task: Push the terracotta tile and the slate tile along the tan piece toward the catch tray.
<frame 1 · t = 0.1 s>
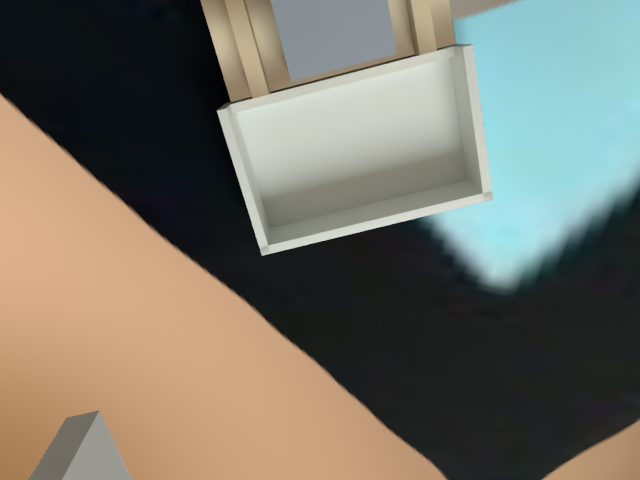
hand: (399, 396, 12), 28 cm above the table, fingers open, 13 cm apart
slate tile: (328, 12, 31), point 4 cm above the table, touching tan piece
catch tray: (354, 144, 38), on the table
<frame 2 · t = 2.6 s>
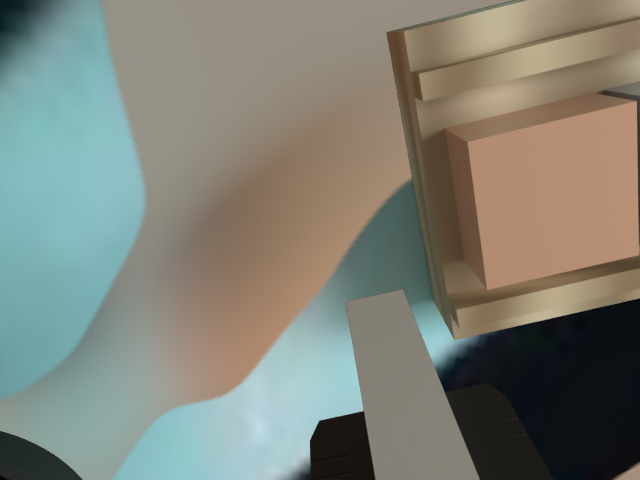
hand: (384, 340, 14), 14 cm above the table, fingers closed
tan piece: (551, 145, 26), on the table
terracotta tile: (524, 180, 22), point 4 cm above the table, touching tan piece
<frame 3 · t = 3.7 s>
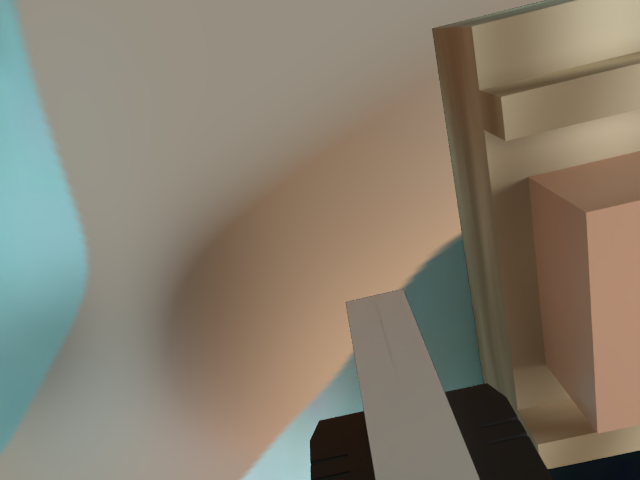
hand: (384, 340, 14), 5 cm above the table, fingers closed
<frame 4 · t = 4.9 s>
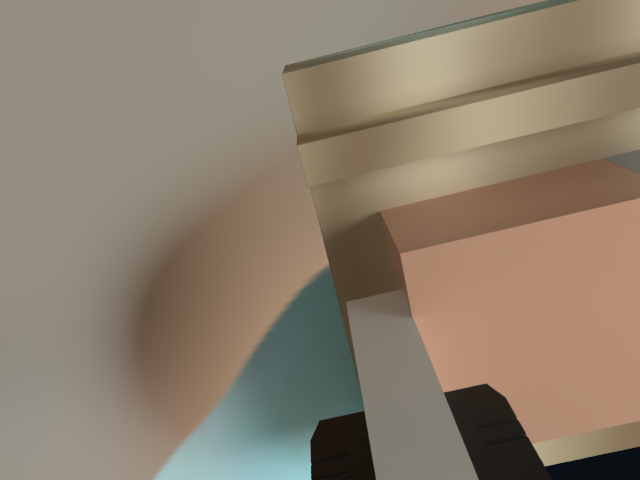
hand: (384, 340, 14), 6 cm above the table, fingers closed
tan piece: (526, 219, 19), on the table
terracotta tile: (501, 283, 15), point 4 cm above the table, touching tan piece, gripper, slate tile
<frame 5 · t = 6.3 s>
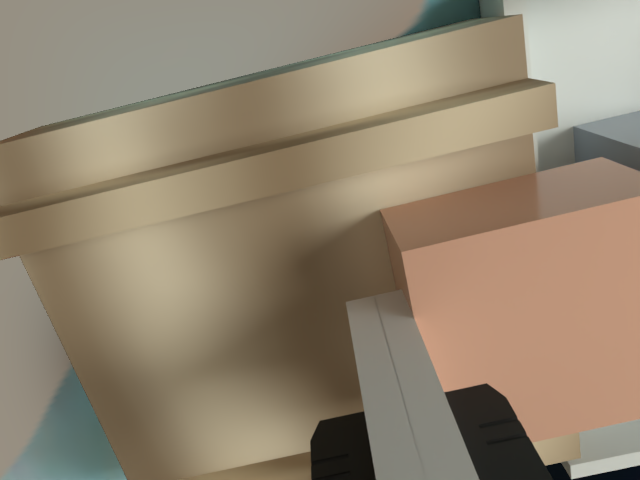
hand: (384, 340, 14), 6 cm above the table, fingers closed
tan piece: (304, 270, 19), on the table
slate tile: (628, 243, 15), point 3 cm above the table, tilted 90°, touching catch tray
terracotta tile: (501, 282, 15), point 4 cm above the table, touching gripper
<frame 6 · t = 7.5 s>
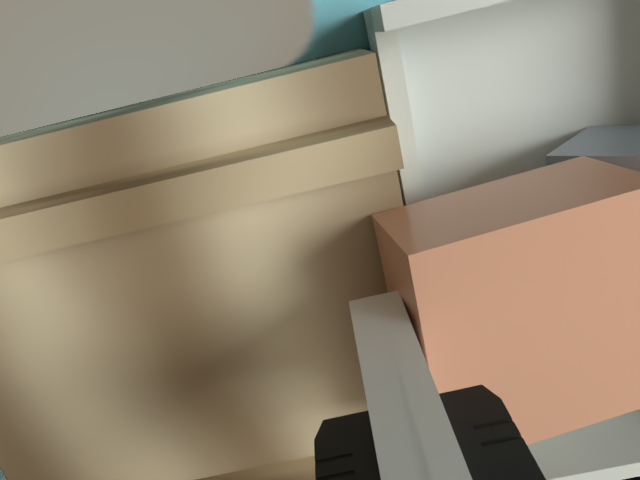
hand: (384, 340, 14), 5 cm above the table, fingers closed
tan piece: (209, 294, 19), on the table
terracotta tile: (491, 283, 15), point 4 cm above the table, tilted 8°, touching tan piece, gripper, slate tile
catch tray: (549, 219, 18), on the table
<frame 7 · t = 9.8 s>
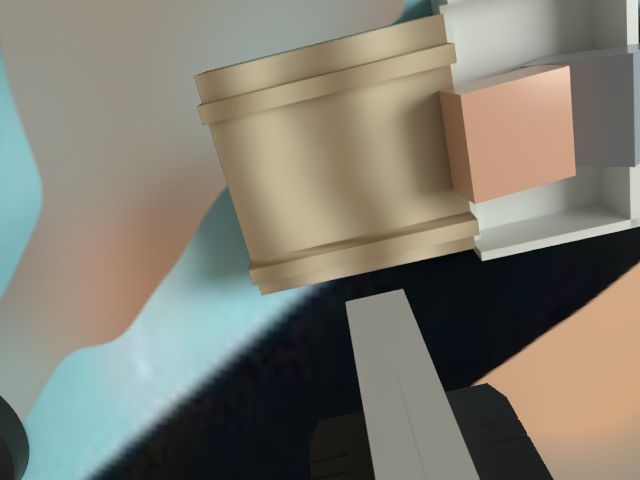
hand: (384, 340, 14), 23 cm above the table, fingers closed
tan piece: (340, 153, 35), on the table
slate tile: (575, 114, 30), point 5 cm above the table, tilted 131°, touching catch tray, terracotta tile
terracotta tile: (494, 129, 31), point 4 cm above the table, tilted 8°, touching tan piece, slate tile
catch tray: (525, 109, 34), on the table
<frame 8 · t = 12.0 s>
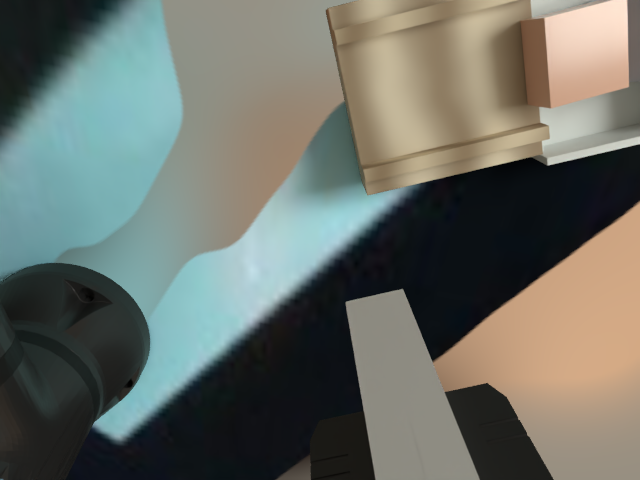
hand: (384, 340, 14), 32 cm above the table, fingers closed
tan piece: (429, 80, 43), on the table
slate tile: (628, 39, 38), point 5 cm above the table, tilted 131°, touching catch tray, terracotta tile
terracotta tile: (561, 53, 39), point 4 cm above the table, tilted 8°, touching tan piece, slate tile
catch tray: (580, 43, 42), on the table
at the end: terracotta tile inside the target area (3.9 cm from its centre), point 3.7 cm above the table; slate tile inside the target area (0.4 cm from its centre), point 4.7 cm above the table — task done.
